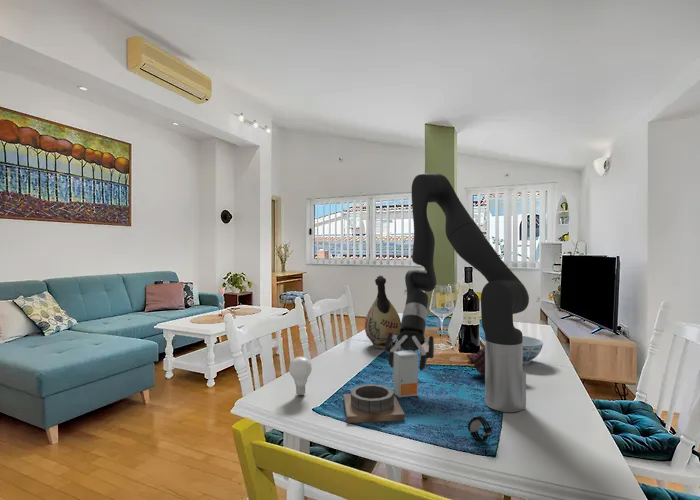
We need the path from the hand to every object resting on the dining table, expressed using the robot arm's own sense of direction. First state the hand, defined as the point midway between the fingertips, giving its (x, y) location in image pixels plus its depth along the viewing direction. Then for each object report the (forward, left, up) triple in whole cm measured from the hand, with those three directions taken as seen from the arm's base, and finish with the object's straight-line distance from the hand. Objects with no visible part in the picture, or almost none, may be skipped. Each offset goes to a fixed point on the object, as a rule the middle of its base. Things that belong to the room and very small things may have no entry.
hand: (406, 367), depth 111 cm
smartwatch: (-10, +28, -8) cm, 30 cm away
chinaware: (-48, -25, -8) cm, 55 cm away
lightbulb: (+30, -1, -8) cm, 31 cm away
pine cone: (-31, -10, -8) cm, 33 cm away
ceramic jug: (-2, -50, -8) cm, 51 cm away
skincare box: (0, +1, -8) cm, 8 cm away
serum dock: (+11, +10, -7) cm, 17 cm away
